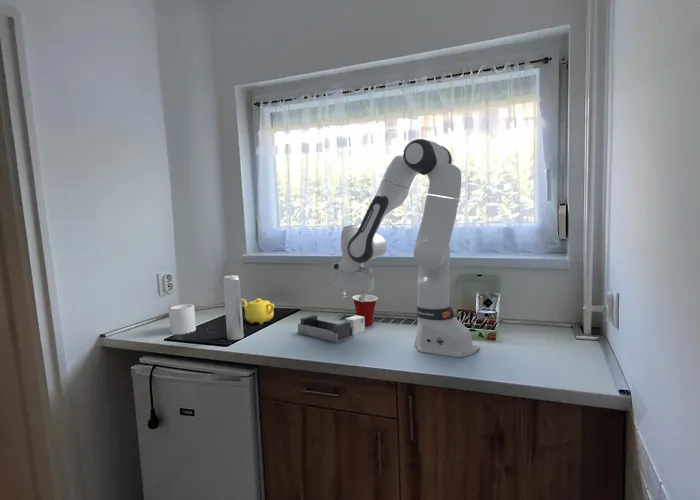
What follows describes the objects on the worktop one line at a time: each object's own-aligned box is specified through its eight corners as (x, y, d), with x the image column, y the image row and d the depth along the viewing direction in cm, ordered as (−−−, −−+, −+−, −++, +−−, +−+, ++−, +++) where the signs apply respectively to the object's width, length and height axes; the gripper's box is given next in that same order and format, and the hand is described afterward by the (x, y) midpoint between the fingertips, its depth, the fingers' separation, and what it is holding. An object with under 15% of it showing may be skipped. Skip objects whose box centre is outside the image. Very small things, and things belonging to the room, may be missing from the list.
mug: (165, 329, 192) (163, 305, 191) (188, 324, 198) (186, 301, 197) (175, 335, 181) (173, 310, 180) (199, 330, 188) (197, 306, 187)
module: (365, 331, 177) (364, 316, 176) (354, 335, 172) (353, 320, 172) (356, 329, 180) (356, 315, 179) (345, 333, 175) (345, 318, 175)
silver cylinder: (239, 340, 171) (235, 277, 169) (224, 339, 173) (219, 277, 170) (246, 335, 178) (242, 274, 175) (231, 335, 179) (227, 274, 176)
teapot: (234, 323, 197) (233, 300, 196) (250, 317, 207) (248, 295, 206) (268, 326, 190) (266, 302, 189) (282, 320, 200) (280, 297, 199)
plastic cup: (374, 328, 180) (373, 299, 179) (349, 327, 184) (348, 299, 182) (381, 321, 190) (380, 294, 189) (358, 320, 194) (357, 293, 192)
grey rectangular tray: (353, 336, 170) (353, 322, 169) (336, 343, 163) (335, 327, 162) (315, 327, 185) (315, 314, 184) (298, 333, 178) (297, 319, 177)
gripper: (377, 267, 169) (378, 302, 170) (340, 262, 183) (340, 295, 184) (366, 269, 164) (367, 305, 166) (329, 264, 178) (329, 297, 180)
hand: (353, 299), depth 175 cm, fingers open, 8 cm apart
